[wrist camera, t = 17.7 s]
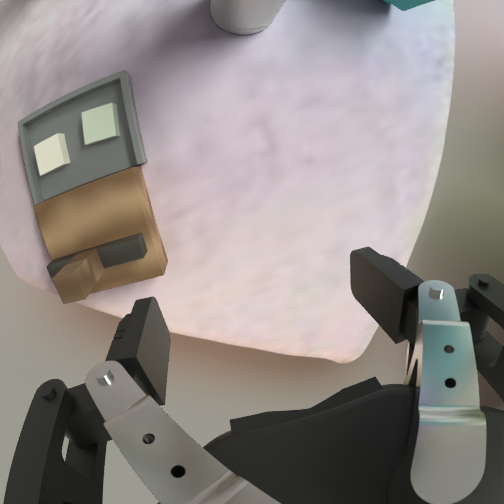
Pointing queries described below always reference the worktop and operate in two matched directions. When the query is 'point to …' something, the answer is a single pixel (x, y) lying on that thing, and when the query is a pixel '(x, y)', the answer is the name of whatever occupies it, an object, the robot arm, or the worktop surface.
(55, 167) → the tile
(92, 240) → the board
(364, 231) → the worktop surface
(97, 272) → the scraper
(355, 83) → the worktop surface
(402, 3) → the radio
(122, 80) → the bin
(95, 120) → the tile
